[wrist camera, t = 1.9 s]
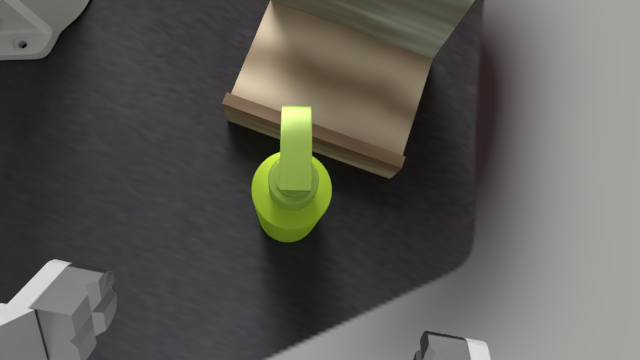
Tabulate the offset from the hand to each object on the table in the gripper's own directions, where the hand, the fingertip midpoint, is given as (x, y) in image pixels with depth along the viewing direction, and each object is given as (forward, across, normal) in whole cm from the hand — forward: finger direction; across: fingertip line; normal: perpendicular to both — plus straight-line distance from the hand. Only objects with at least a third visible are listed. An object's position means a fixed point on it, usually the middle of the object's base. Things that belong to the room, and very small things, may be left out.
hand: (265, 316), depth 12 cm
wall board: (+39, +1, +8) cm, 40 cm away
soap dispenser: (+30, +3, +18) cm, 35 cm away
